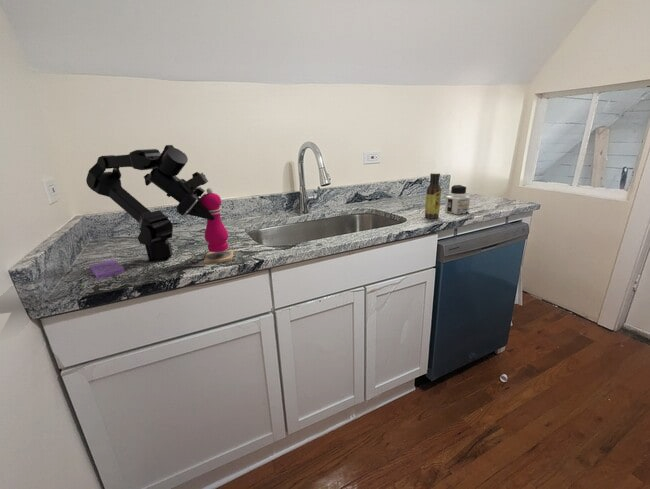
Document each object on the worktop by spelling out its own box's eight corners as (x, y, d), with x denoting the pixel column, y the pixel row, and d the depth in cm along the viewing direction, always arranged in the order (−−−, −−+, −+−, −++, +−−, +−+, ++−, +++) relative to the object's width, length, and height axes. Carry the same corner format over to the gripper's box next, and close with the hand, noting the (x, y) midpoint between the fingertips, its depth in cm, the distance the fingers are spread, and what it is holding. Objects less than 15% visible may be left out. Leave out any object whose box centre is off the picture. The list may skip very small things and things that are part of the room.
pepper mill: (221, 243, 106) (212, 185, 100) (234, 248, 102) (226, 187, 95) (202, 250, 101) (191, 188, 94) (215, 254, 97) (205, 191, 90)
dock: (203, 263, 97) (203, 261, 97) (207, 254, 105) (207, 252, 104) (231, 260, 98) (231, 258, 98) (233, 252, 106) (233, 249, 106)
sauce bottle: (436, 219, 138) (440, 174, 132) (422, 218, 142) (425, 173, 135) (440, 216, 144) (444, 172, 137) (426, 215, 147) (429, 172, 141)
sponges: (98, 280, 89) (96, 274, 88) (89, 269, 97) (88, 264, 96) (125, 273, 93) (124, 267, 93) (115, 263, 102) (114, 258, 101)
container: (456, 214, 145) (459, 187, 141) (444, 211, 152) (446, 185, 148) (468, 212, 148) (471, 185, 144) (456, 209, 155) (458, 183, 151)
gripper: (181, 165, 83) (229, 203, 89) (193, 162, 100) (232, 193, 106) (155, 197, 84) (204, 232, 90) (171, 188, 101) (212, 218, 107)
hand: (214, 217), depth 98 cm, fingers closed on pepper mill, 5 cm apart
